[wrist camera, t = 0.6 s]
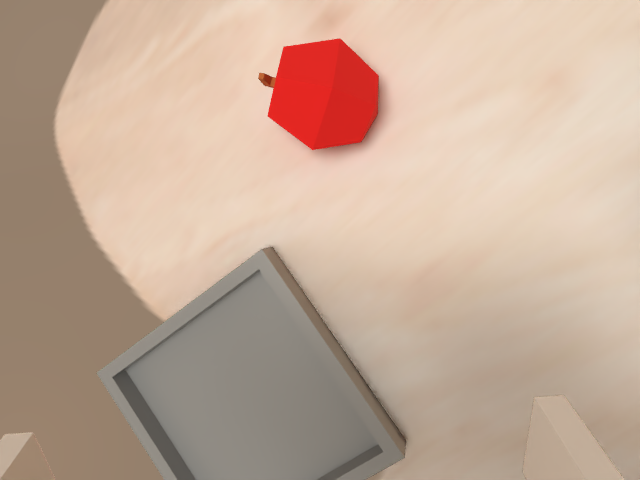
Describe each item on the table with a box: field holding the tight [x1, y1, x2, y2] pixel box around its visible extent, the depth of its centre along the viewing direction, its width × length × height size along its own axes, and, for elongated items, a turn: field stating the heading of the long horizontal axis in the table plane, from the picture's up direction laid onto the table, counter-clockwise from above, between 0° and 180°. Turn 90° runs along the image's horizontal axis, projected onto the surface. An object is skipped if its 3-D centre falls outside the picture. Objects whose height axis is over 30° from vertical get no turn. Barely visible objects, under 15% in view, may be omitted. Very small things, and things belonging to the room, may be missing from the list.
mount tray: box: [97, 247, 406, 480], centre depth 33 cm, size 17×17×2 cm
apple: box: [258, 39, 379, 150], centre depth 28 cm, size 7×7×8 cm
